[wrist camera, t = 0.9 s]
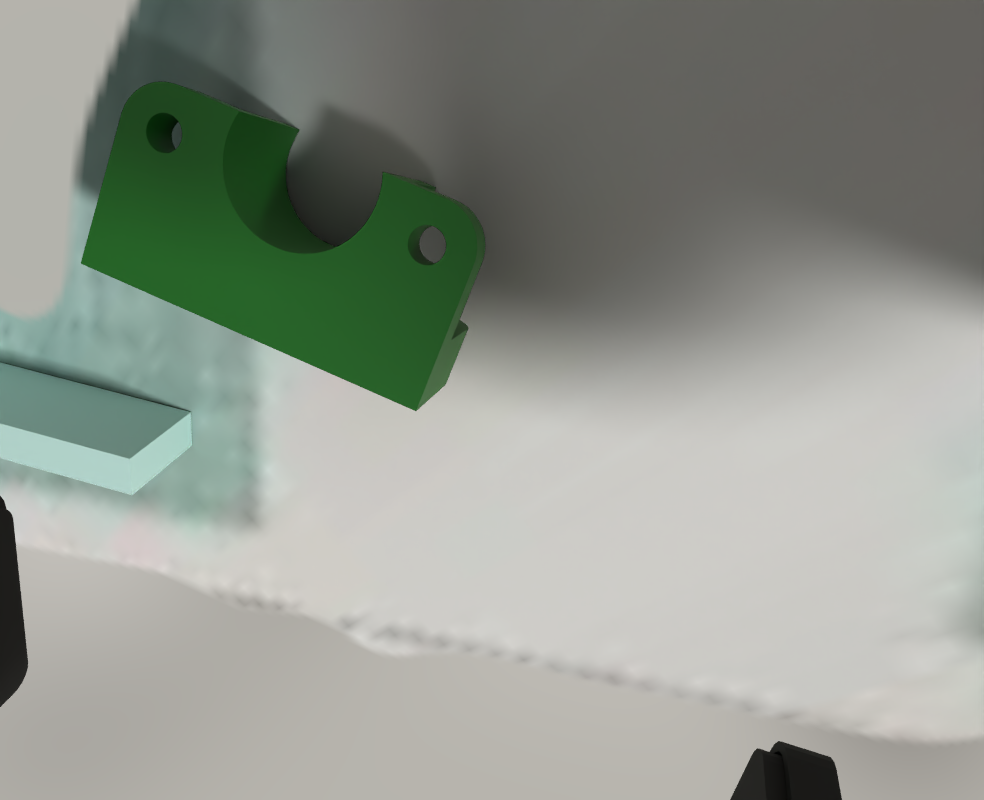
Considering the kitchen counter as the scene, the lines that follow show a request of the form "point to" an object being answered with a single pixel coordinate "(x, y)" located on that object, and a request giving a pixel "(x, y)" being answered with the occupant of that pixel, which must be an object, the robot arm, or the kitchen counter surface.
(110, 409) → the end holder
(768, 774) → the robot arm
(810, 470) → the kitchen counter surface
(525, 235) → the kitchen counter surface
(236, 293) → the clamp
